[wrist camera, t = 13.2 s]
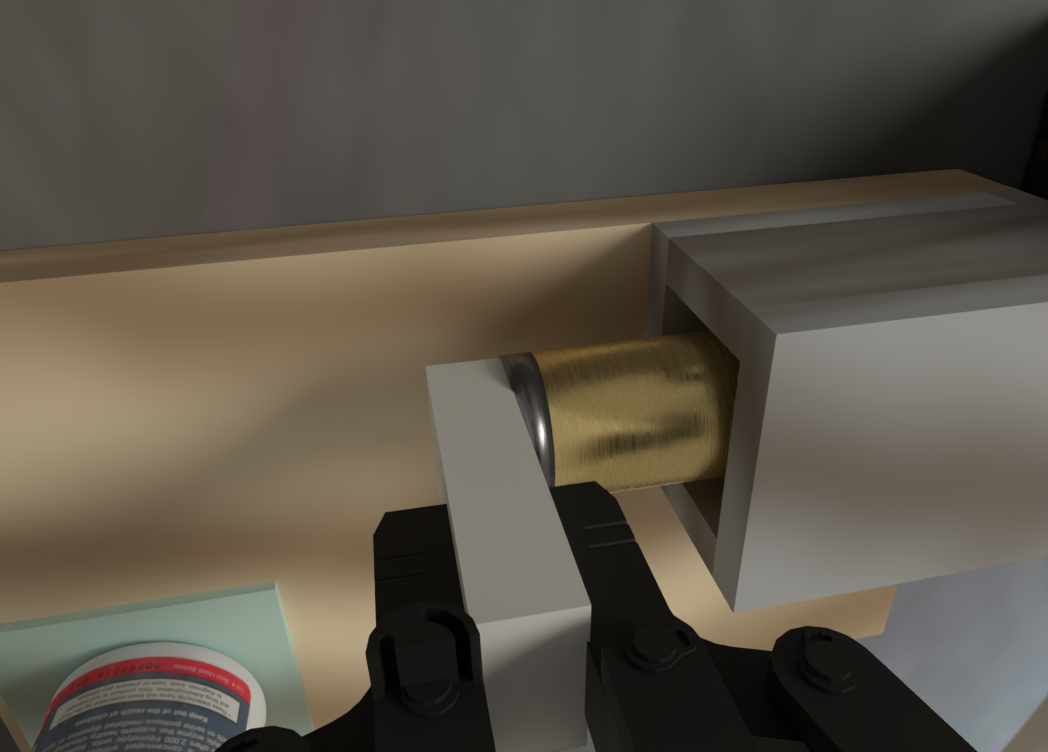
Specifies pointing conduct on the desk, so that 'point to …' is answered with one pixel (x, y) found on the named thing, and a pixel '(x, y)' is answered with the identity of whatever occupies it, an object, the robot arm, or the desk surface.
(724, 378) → the pin
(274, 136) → the desk surface
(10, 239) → the desk surface
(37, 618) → the wooden base board
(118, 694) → the pill bottle
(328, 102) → the desk surface
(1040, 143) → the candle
